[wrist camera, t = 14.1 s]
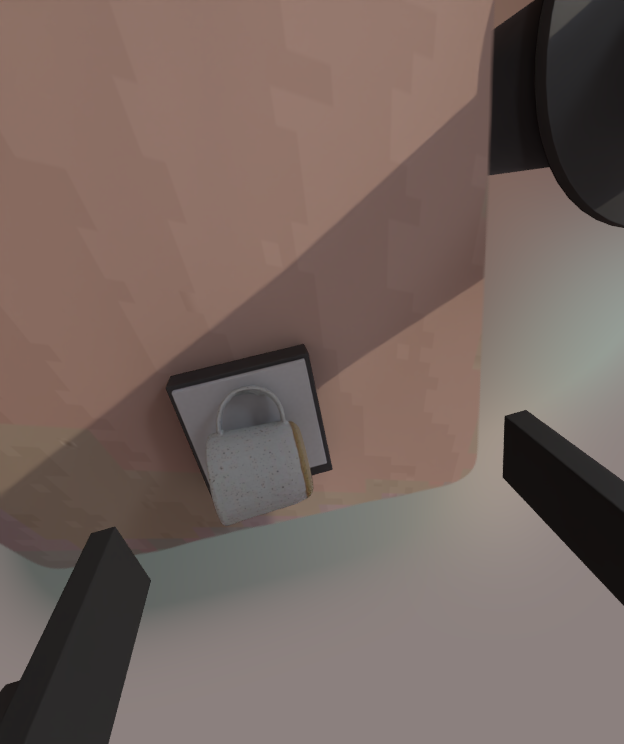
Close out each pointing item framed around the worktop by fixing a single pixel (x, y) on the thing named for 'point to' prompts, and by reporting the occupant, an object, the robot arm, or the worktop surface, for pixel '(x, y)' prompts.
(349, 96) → the worktop surface
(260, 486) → the ceramic mug
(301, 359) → the kitchen scale
